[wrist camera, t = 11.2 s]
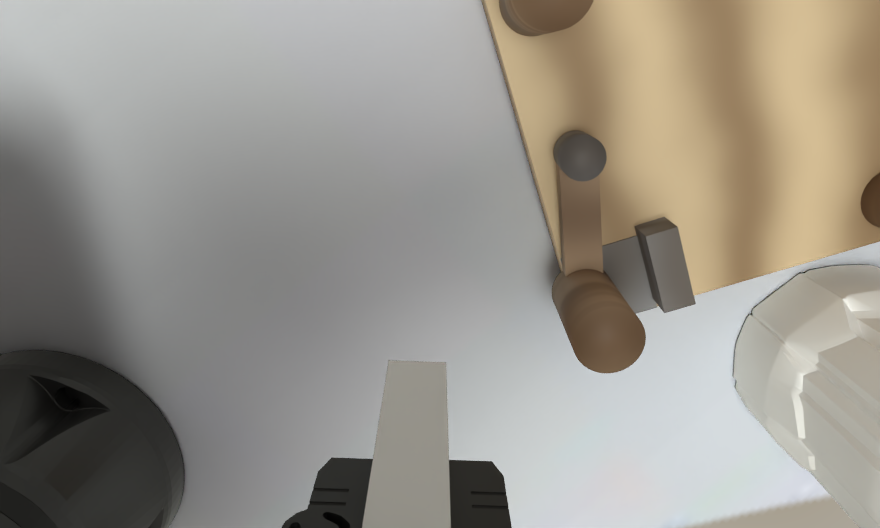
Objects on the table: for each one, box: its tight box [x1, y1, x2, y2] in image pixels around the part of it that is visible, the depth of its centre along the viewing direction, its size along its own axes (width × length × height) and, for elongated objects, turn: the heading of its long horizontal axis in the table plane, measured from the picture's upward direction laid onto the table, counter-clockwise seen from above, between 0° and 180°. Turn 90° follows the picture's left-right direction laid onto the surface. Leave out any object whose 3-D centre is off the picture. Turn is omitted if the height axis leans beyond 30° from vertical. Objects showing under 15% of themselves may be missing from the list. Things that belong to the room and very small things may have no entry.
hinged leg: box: [552, 130, 646, 373], centre depth 29 cm, size 10×3×6 cm, turn 6°
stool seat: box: [482, 0, 880, 314], centre depth 29 cm, size 18×18×9 cm
